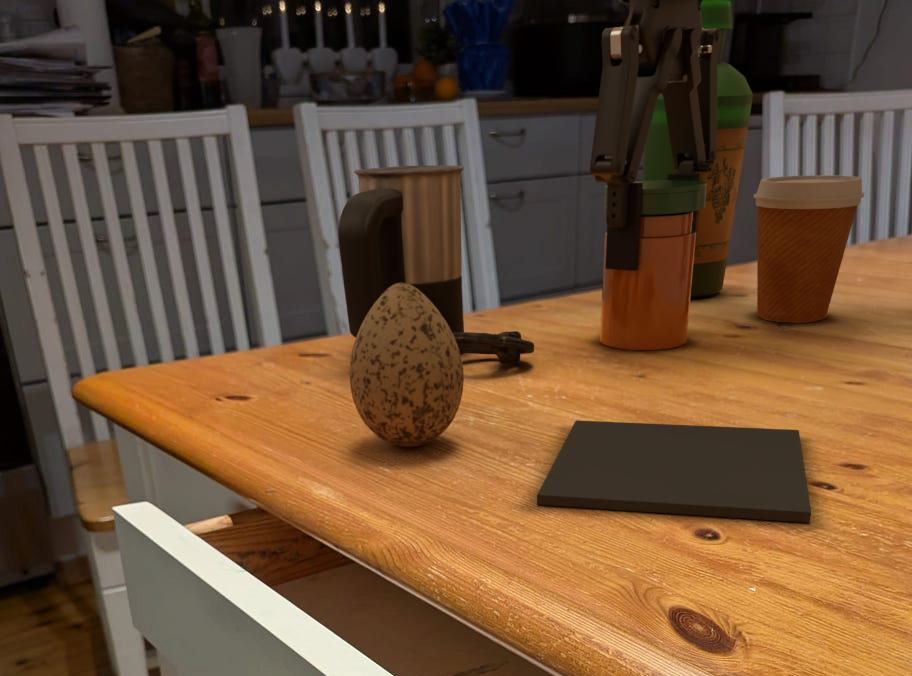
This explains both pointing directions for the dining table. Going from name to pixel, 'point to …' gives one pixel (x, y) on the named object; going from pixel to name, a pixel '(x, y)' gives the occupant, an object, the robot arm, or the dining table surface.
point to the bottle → (727, 165)
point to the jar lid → (670, 196)
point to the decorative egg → (406, 369)
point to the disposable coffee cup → (802, 243)
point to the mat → (681, 471)
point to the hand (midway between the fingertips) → (650, 261)
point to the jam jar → (651, 288)
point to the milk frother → (412, 249)
